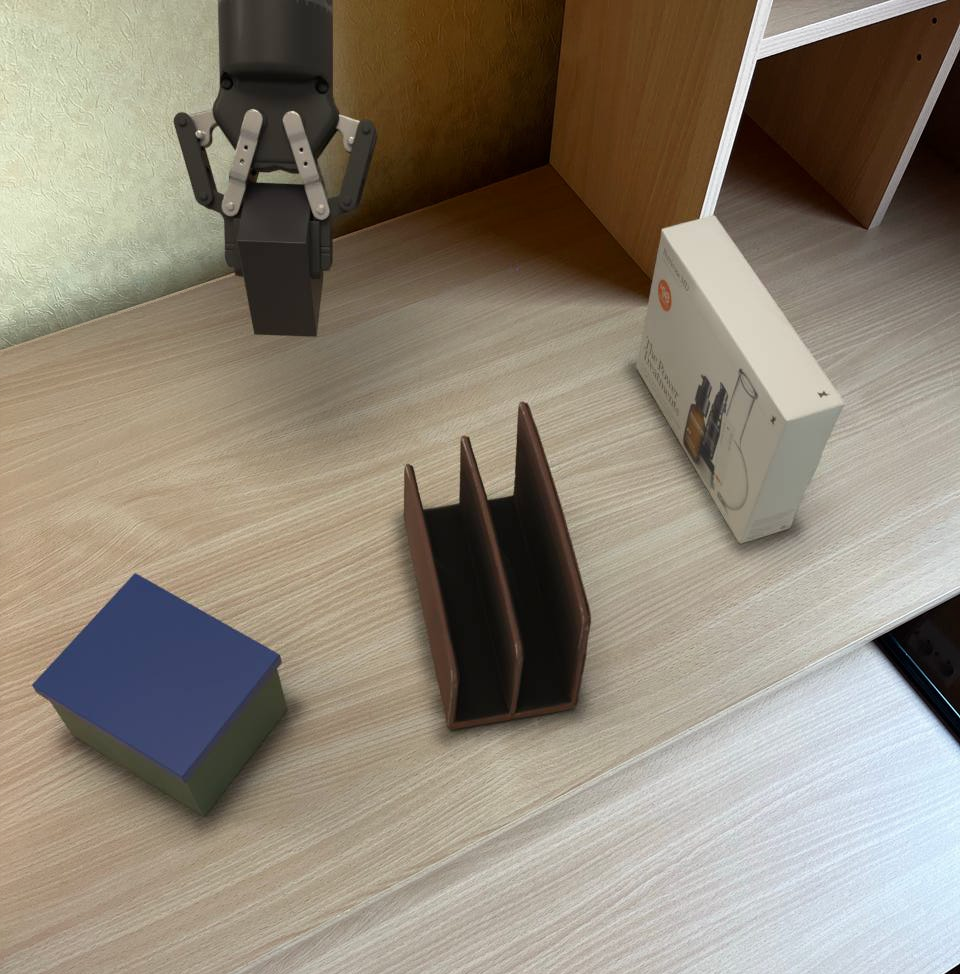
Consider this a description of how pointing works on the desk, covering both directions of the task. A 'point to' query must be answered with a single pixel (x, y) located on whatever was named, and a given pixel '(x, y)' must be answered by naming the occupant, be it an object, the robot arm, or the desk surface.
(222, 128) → the robot arm
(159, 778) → the container
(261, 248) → the case
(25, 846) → the desk surface
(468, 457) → the letter holder
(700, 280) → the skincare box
